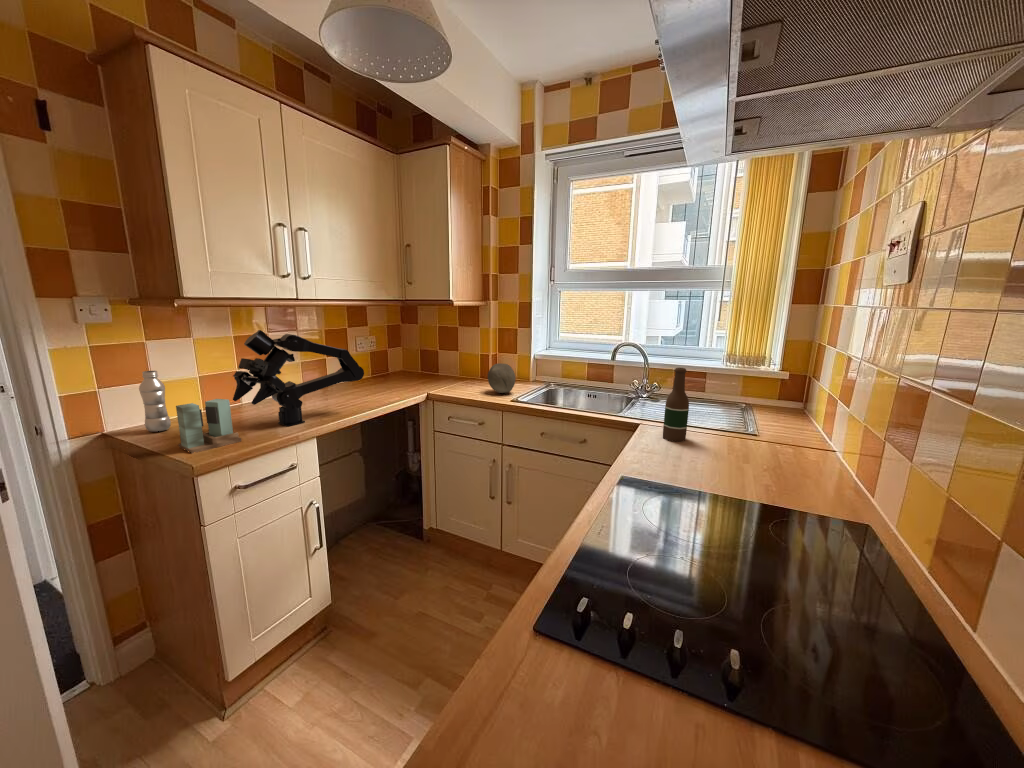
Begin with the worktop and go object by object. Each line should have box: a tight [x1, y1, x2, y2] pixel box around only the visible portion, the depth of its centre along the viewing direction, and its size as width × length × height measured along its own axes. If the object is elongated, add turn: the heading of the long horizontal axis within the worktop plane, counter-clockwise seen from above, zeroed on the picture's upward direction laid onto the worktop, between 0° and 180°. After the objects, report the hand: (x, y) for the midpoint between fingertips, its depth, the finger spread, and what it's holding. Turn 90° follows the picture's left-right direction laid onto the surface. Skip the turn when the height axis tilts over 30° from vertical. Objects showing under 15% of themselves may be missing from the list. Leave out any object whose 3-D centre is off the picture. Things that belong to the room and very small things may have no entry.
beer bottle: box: [662, 367, 690, 443], centre depth 135 cm, size 8×8×24 cm
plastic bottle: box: [138, 370, 171, 433], centre depth 133 cm, size 6×7×20 cm
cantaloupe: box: [487, 363, 516, 394], centre depth 200 cm, size 14×14×15 cm
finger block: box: [204, 398, 234, 437], centre depth 125 cm, size 5×4×12 cm
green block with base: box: [175, 402, 242, 454], centre depth 123 cm, size 13×9×13 cm
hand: (243, 402), depth 131 cm, fingers open, 9 cm apart
